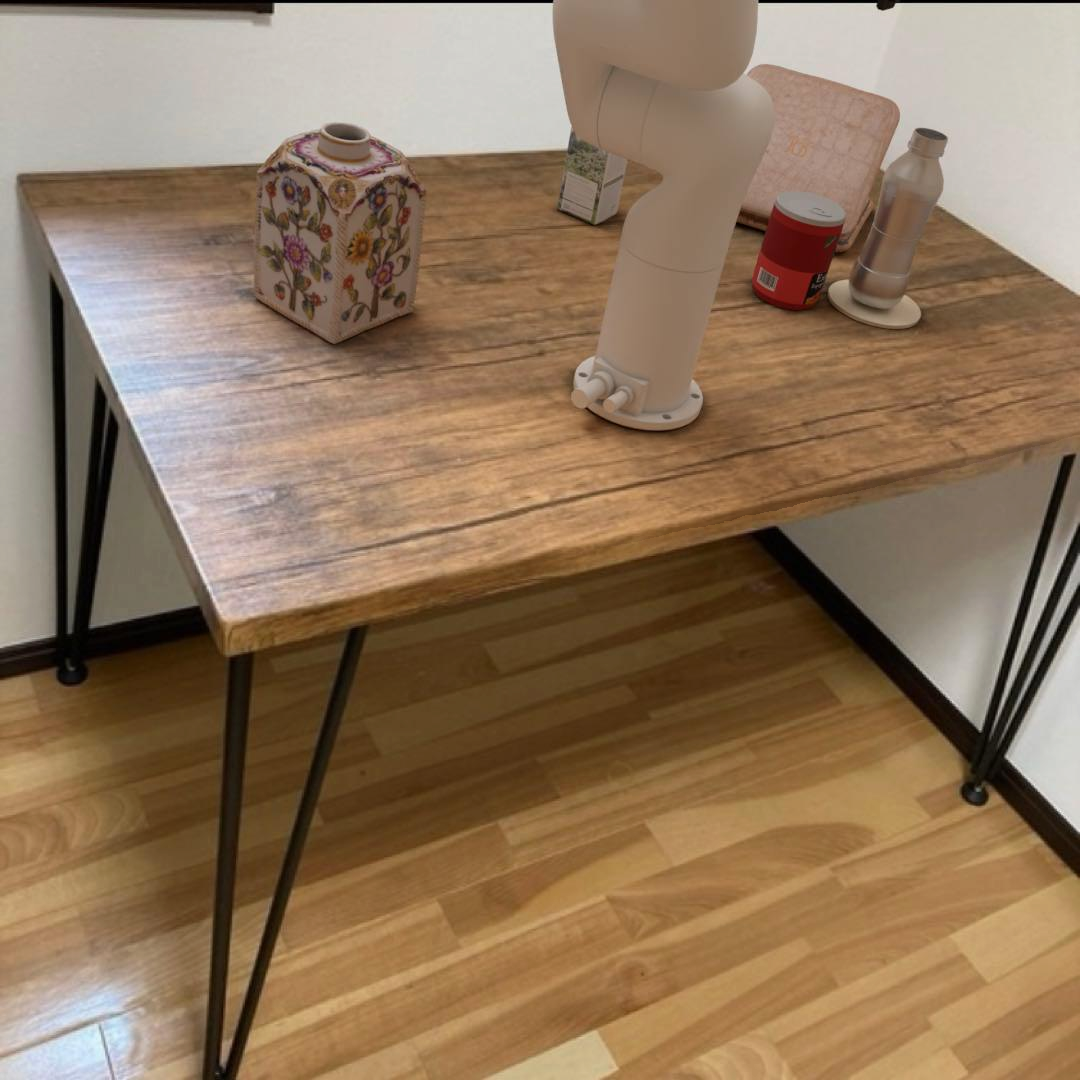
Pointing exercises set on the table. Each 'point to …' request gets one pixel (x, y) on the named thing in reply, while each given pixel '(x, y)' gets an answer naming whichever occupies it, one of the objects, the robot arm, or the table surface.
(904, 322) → the coaster
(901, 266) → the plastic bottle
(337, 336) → the decorative jar
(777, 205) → the canned food
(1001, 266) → the table surface
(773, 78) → the case
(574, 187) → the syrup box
